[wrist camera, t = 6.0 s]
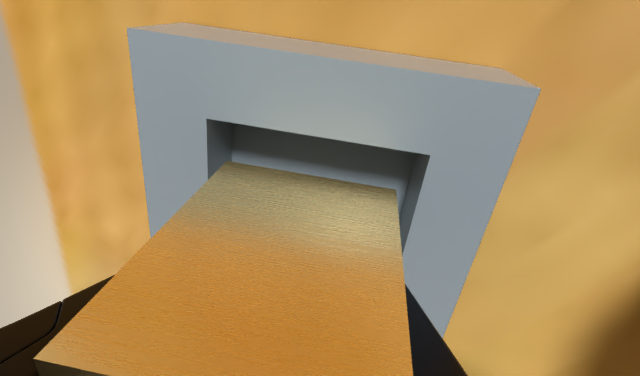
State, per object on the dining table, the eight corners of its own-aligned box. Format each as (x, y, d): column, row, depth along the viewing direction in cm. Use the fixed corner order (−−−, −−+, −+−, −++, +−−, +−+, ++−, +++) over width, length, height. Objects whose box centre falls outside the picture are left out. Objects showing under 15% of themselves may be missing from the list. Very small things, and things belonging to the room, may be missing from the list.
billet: (396, 189, 9) (421, 466, 4) (365, 316, 11) (351, 614, 6) (226, 160, 9) (18, 374, 4) (226, 288, 12) (88, 546, 6)
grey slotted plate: (183, 22, 12) (126, 27, 9) (501, 68, 11) (540, 88, 8) (203, 423, 22) (178, 481, 19) (369, 461, 21) (367, 526, 18)
